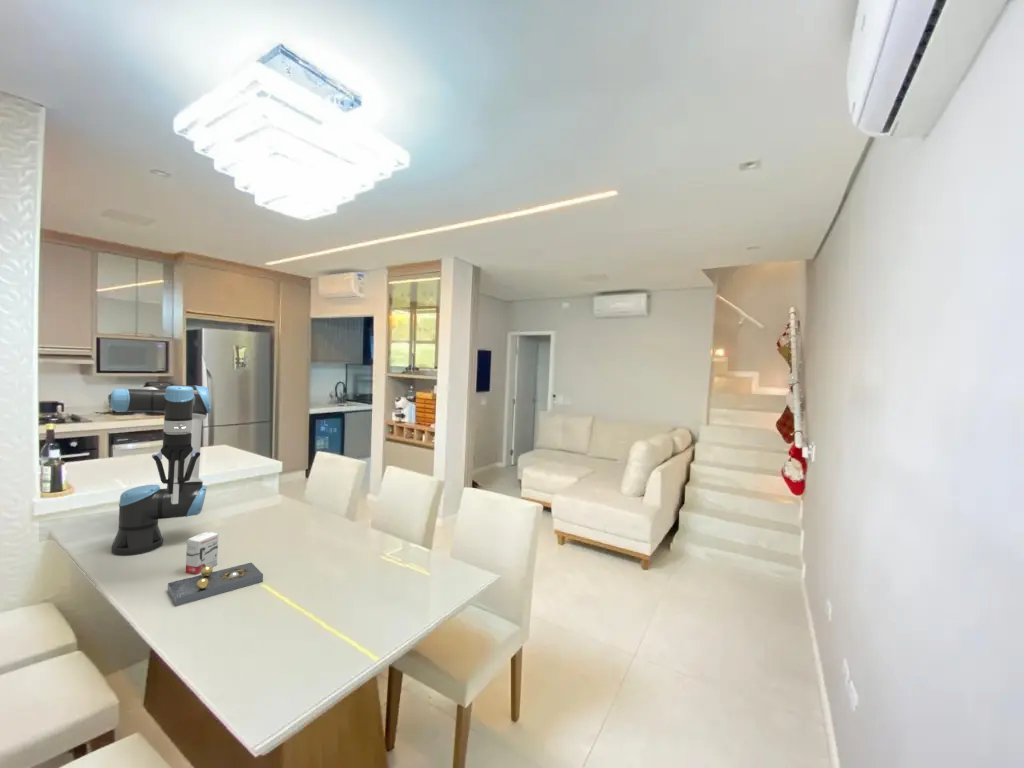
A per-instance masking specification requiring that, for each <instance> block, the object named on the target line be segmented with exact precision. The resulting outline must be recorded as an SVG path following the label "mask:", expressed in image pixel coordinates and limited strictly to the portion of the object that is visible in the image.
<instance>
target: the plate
mask: <svg viewBox="0 0 1024 768" xmlns="http://www.w3.org/2000/svg"><path fill="white" fill-rule="evenodd" d="M232 572H238V573H239V575H240V576H237V577H229V575H230V574H231V573H232ZM201 578H206V579H208V581H209V584H208V586H207V587H206V588H204V589H199V588H197V586H196V584H197V582H198V580H200V579H201ZM263 581H264V573H263V572H261V570H260V569H258V567H257V566H256V565H254V563H253V562H252V561H251V562H248V563H244V564H241V565H236V566H233V567H232V566H231V567H227V568H224V569H220V570H215V571H212V573H211V574H210V575H209V576H203V575H202V574H200V575H196V576H193V577H187V578H185V579H184V578H183V579H180V580H179V579H178V580H175V581H171V582H168V584H167V592H168V594H169V596H170V598H171V600H172V602H173V603H174V606H175V607H178V606H181V605H185V604H188V603H192V602H196V601H199V600H202V599H206V598H210V597H213V596H217V595H220V594H224V593H228V592H232V591H234V590H238V589H242V588H245V587H249V586H251V585H256V584H260V583H263Z"/></svg>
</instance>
